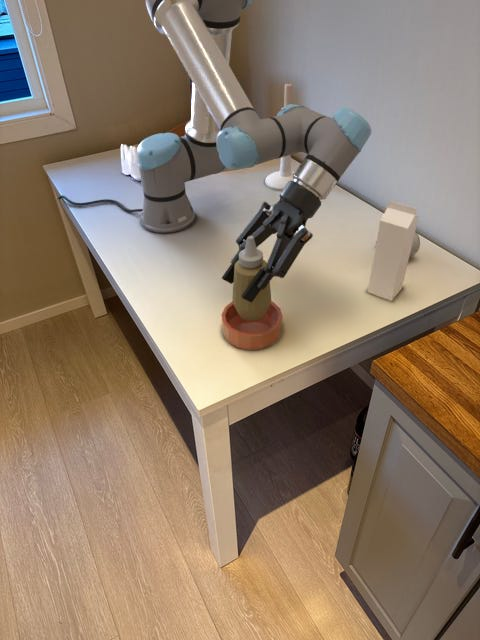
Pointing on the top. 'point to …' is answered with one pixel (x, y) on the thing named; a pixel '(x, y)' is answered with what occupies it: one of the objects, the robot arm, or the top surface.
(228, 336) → the holder
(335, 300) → the top surface
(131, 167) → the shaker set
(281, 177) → the candlestick
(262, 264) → the squeeze bottle
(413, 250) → the ceramic mug
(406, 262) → the milk
